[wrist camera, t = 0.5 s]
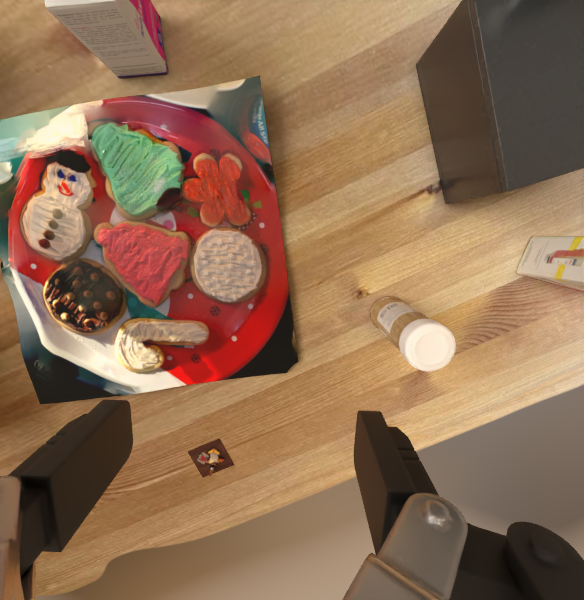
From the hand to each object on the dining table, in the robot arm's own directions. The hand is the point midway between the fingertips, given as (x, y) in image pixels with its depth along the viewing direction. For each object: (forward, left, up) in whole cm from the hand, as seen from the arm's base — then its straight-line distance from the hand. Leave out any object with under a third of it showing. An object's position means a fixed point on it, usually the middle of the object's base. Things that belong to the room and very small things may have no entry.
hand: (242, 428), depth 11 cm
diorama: (+25, -9, -30) cm, 40 cm away
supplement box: (-26, -16, -30) cm, 43 cm away
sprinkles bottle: (+3, +14, -30) cm, 34 cm away
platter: (-3, -17, -30) cm, 35 cm away
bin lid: (-21, +23, -19) cm, 36 cm away
